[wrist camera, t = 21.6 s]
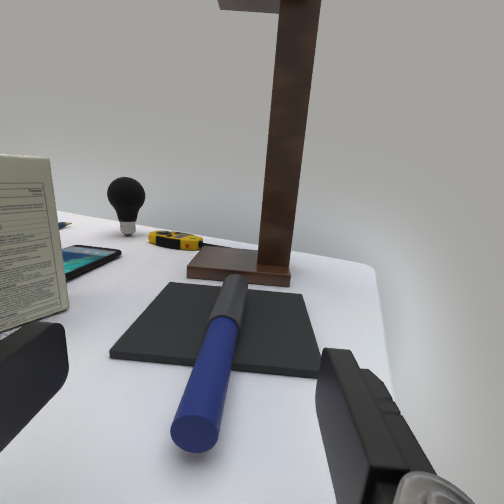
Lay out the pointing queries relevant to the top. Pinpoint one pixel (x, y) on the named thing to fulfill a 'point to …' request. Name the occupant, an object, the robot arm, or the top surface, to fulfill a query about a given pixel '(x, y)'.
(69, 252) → the smartphone
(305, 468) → the top surface
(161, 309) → the mat
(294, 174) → the wooden headphone stand
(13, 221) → the cosmetic box
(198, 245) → the yellow walkie talkie
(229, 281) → the marker
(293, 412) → the top surface
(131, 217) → the light bulb
